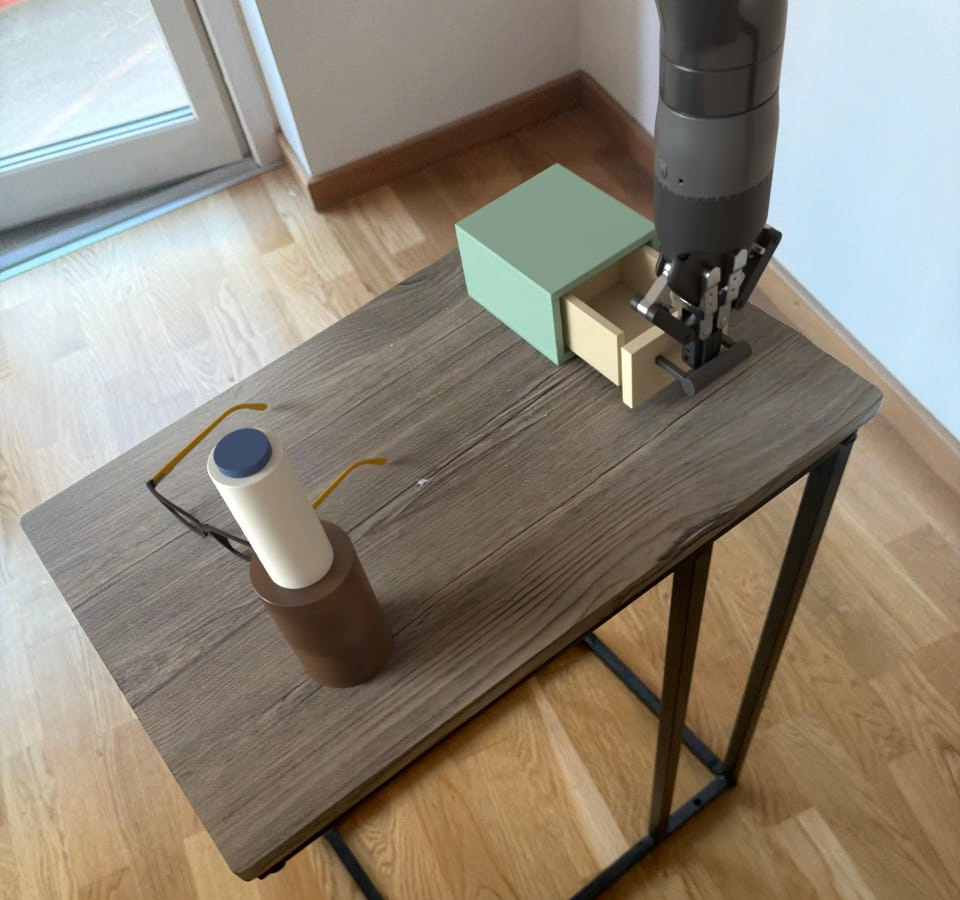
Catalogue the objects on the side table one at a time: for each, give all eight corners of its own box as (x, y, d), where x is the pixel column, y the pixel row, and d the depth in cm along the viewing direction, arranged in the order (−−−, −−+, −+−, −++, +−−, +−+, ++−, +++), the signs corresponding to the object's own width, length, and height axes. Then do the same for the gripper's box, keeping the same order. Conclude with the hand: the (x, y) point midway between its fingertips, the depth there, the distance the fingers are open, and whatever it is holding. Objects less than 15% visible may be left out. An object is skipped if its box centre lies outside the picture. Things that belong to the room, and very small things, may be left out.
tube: (333, 529, 61) (279, 413, 52) (334, 583, 59) (278, 472, 50) (269, 540, 62) (204, 427, 53) (267, 594, 59) (199, 486, 50)
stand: (390, 600, 71) (352, 510, 62) (394, 680, 68) (354, 596, 58) (302, 615, 72) (250, 528, 63) (301, 695, 68) (246, 614, 59)
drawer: (768, 373, 76) (776, 316, 71) (672, 440, 74) (673, 386, 69) (627, 278, 85) (626, 221, 80) (538, 336, 83) (531, 281, 78)
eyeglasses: (157, 519, 79) (135, 489, 76) (267, 407, 84) (251, 374, 81) (278, 587, 74) (261, 557, 70) (388, 462, 79) (377, 429, 75)
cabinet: (658, 300, 84) (659, 225, 77) (558, 366, 82) (550, 295, 75) (563, 236, 91) (557, 162, 84) (468, 295, 88) (454, 223, 82)
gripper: (675, 231, 56) (669, 432, 71) (834, 131, 59) (796, 344, 74) (595, 181, 60) (605, 382, 75) (747, 89, 63) (728, 300, 77)
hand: (700, 363), depth 74 cm, fingers closed
